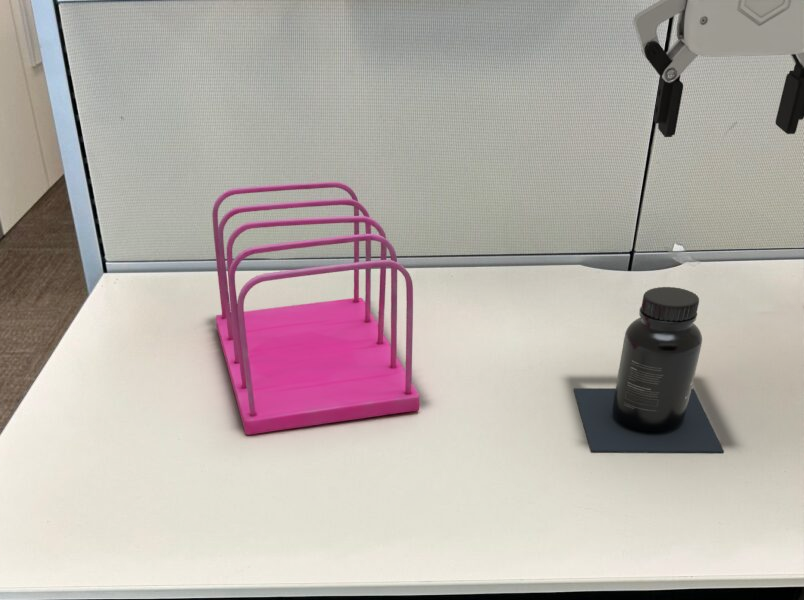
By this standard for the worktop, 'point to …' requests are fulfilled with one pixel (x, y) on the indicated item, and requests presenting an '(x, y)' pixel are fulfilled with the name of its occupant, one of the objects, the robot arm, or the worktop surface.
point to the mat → (618, 438)
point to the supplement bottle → (658, 362)
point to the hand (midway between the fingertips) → (725, 131)
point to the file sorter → (312, 330)
